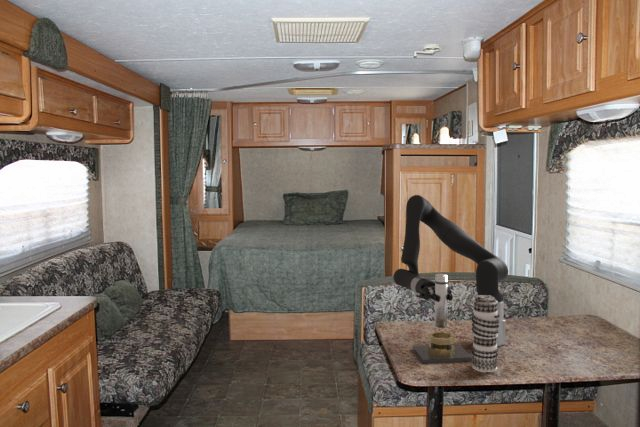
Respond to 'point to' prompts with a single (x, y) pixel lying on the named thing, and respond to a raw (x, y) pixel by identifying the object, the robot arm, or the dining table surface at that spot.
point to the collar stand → (441, 349)
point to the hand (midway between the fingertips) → (444, 298)
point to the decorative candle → (485, 333)
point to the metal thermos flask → (441, 300)
